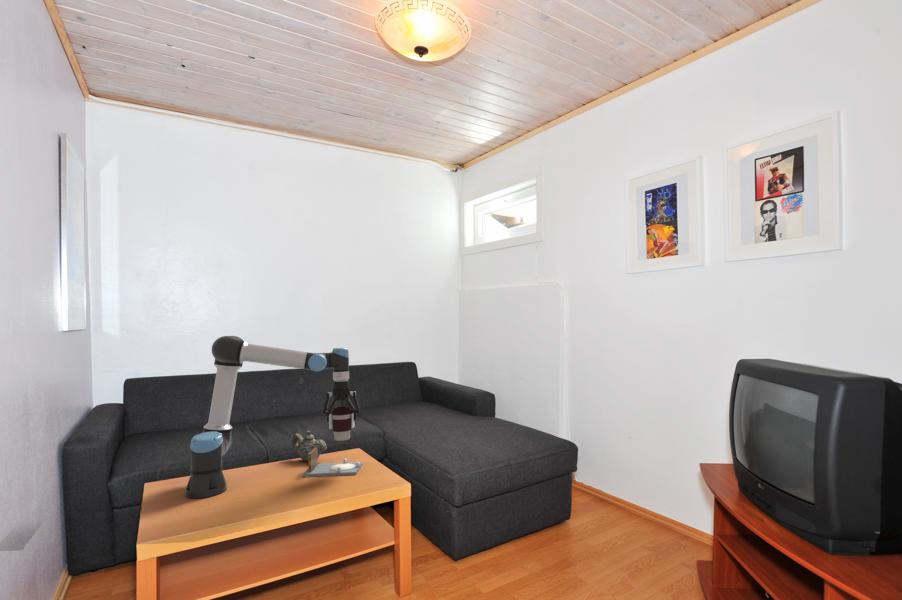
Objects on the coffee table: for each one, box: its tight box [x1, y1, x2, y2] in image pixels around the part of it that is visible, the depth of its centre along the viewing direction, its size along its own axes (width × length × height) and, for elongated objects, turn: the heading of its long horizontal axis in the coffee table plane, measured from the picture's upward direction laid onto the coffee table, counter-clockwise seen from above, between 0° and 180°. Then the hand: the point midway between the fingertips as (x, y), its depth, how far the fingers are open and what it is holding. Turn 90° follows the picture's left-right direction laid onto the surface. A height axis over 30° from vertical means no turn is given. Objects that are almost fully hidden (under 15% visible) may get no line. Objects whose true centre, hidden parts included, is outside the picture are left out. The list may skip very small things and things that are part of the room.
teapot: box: [291, 430, 328, 462], centre depth 236 cm, size 21×12×15 cm, turn 68°
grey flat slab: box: [302, 458, 363, 478], centre depth 217 cm, size 24×17×3 cm
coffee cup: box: [330, 405, 353, 442], centre depth 218 cm, size 10×10×15 cm
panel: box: [307, 447, 319, 472], centre depth 216 cm, size 3×12×8 cm, turn 2°
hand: (341, 428), depth 218 cm, fingers closed on coffee cup, 10 cm apart
